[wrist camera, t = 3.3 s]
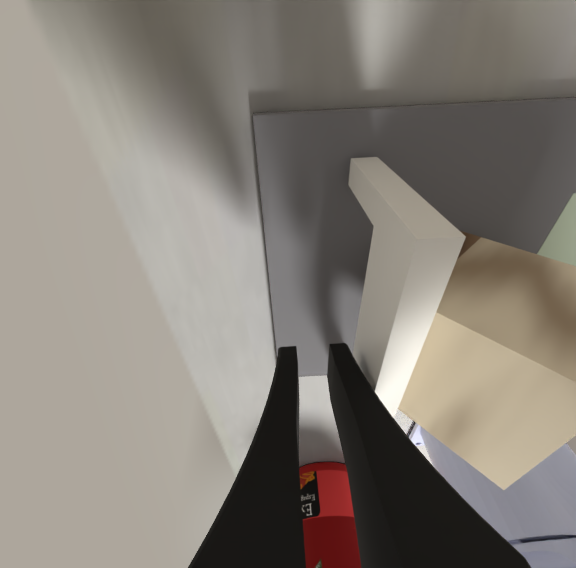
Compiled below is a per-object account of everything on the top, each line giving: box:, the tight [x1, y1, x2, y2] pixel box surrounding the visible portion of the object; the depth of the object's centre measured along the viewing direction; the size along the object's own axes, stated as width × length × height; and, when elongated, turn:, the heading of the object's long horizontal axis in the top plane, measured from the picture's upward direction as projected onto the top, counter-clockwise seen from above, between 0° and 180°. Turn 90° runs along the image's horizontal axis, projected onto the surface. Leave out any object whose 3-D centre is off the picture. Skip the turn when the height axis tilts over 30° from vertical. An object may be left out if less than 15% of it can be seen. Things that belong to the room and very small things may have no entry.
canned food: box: [299, 462, 361, 568], centre depth 29 cm, size 8×8×11 cm
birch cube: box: [398, 230, 576, 490], centre depth 12 cm, size 6×6×6 cm
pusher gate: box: [348, 157, 466, 418], centre depth 12 cm, size 1×13×6 cm, turn 2°
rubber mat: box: [253, 97, 576, 377], centre depth 15 cm, size 26×16×1 cm, turn 92°
